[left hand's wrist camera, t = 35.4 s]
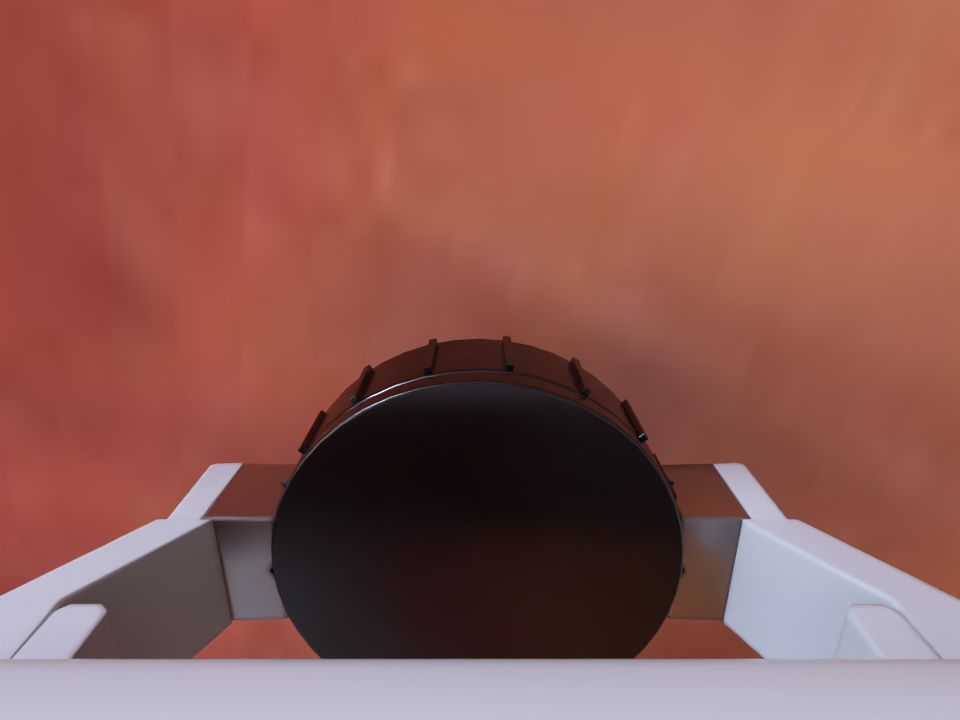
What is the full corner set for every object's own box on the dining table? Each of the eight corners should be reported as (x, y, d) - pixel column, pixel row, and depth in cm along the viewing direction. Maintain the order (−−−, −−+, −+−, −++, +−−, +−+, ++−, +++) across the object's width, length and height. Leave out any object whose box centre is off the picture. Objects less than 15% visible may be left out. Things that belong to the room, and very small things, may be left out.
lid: (730, 503, 10) (776, 572, 8) (476, 686, 11) (476, 774, 10) (481, 251, 8) (481, 279, 7) (227, 501, 10) (179, 570, 8)
